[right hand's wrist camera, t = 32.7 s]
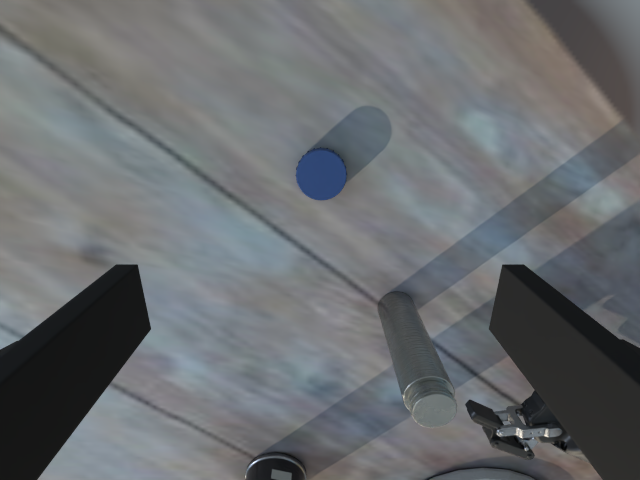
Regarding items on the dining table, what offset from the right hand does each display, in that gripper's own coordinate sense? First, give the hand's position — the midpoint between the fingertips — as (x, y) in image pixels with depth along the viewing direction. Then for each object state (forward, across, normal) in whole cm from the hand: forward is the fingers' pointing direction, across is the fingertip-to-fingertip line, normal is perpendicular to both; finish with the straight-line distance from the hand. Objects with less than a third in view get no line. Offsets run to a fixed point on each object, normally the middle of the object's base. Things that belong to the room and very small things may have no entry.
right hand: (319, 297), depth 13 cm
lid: (+25, 0, 0) cm, 25 cm away
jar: (+27, +10, -17) cm, 33 cm away
